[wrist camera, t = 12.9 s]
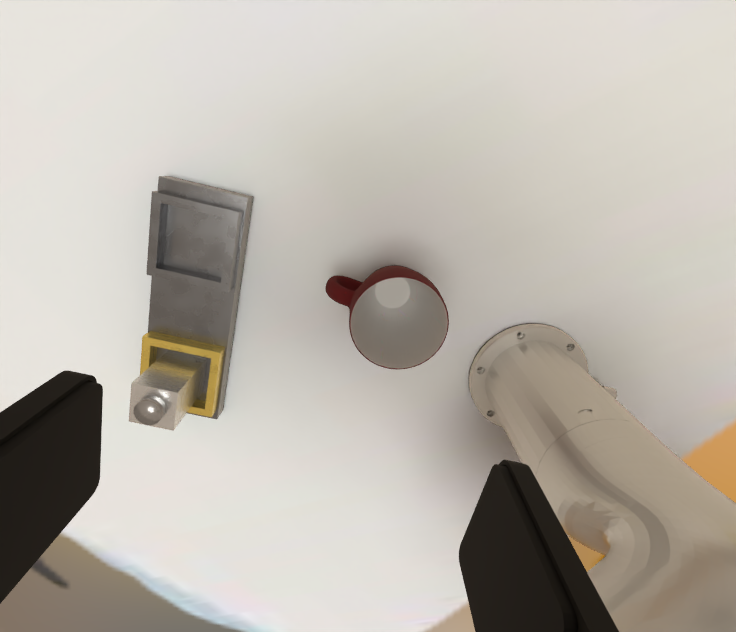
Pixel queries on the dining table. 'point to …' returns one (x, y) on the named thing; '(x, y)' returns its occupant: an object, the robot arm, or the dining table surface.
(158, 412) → the knobbed metal block
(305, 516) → the dining table surface
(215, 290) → the grey flat elongated piece
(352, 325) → the mug
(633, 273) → the dining table surface
